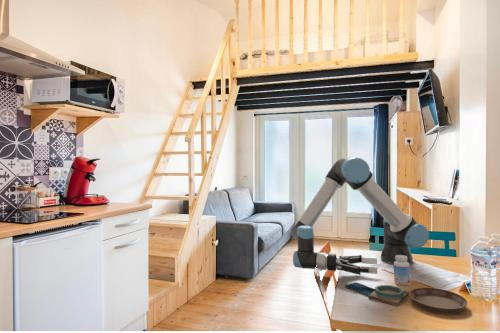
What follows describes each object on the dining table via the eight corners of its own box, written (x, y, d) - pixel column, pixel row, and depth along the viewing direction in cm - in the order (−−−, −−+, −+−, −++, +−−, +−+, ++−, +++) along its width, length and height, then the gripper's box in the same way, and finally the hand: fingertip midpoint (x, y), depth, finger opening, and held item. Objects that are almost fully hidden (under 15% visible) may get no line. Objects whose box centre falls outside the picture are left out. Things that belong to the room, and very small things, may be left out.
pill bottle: (412, 285, 131) (411, 258, 131) (396, 285, 132) (395, 258, 132) (407, 280, 137) (407, 254, 137) (392, 280, 138) (391, 254, 138)
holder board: (381, 288, 129) (381, 281, 129) (409, 294, 122) (409, 287, 122) (368, 298, 120) (368, 291, 120) (397, 306, 112) (397, 298, 112)
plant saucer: (469, 321, 101) (468, 311, 101) (407, 309, 110) (406, 300, 110) (466, 301, 116) (466, 292, 116) (412, 292, 125) (411, 284, 125)
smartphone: (356, 284, 136) (356, 281, 136) (387, 295, 123) (387, 293, 123) (343, 287, 132) (343, 285, 132) (373, 300, 119) (373, 297, 119)
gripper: (330, 262, 157) (377, 265, 150) (323, 278, 134) (377, 284, 126) (330, 247, 157) (376, 249, 150) (322, 261, 134) (377, 265, 126)
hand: (377, 265), depth 138 cm, fingers open, 13 cm apart
